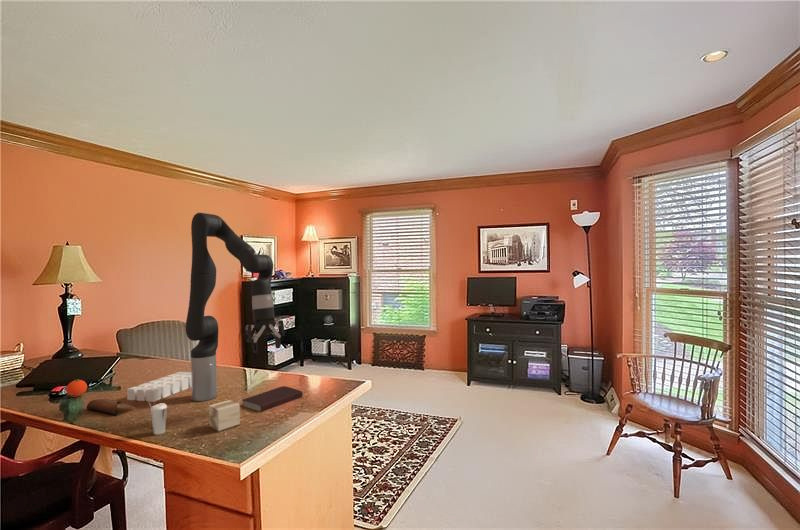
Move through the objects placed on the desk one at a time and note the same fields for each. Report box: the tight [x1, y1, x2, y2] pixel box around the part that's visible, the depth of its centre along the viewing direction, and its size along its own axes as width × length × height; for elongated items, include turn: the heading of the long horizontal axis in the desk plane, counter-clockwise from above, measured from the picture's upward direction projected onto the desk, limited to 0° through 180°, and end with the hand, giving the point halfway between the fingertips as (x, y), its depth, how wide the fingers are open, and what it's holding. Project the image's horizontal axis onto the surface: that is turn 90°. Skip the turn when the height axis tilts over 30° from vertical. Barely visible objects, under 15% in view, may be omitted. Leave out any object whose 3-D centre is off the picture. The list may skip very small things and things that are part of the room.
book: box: [241, 385, 303, 413], centre depth 151 cm, size 12×19×3 cm, turn 144°
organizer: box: [126, 371, 191, 403], centre depth 173 cm, size 13×5×35 cm
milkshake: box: [147, 401, 168, 436], centre depth 124 cm, size 4×5×10 cm
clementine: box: [65, 379, 88, 398], centre depth 164 cm, size 8×7×7 cm
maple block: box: [208, 399, 241, 433], centre depth 128 cm, size 7×7×7 cm
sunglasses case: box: [86, 398, 137, 417], centre depth 146 cm, size 18×7×7 cm, turn 67°
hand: (267, 350), depth 144 cm, fingers open, 8 cm apart
